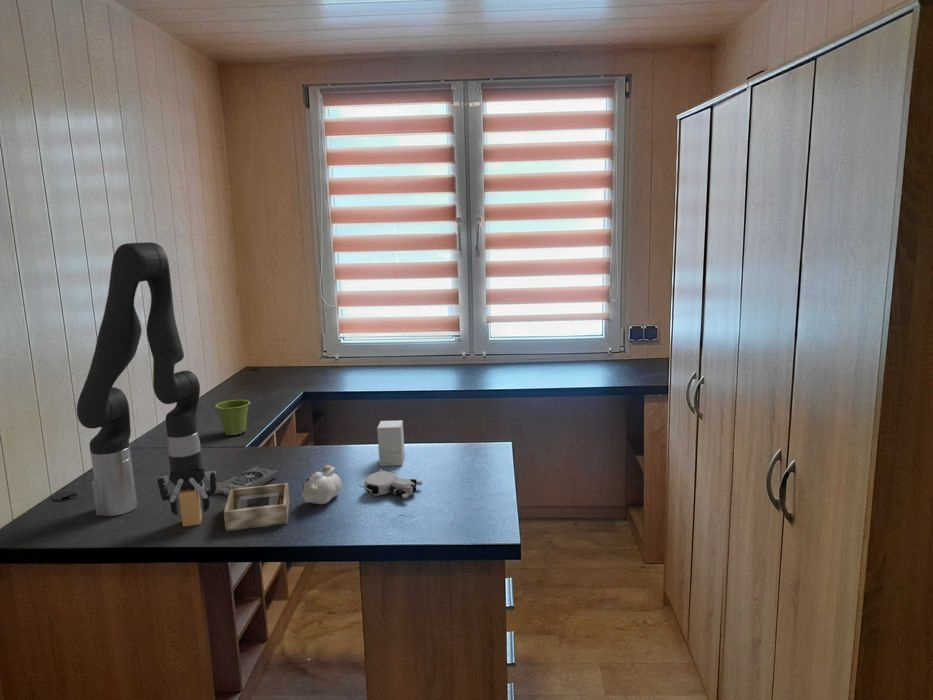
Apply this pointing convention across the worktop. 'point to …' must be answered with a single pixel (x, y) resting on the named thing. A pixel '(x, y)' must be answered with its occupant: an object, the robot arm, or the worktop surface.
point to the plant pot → (233, 415)
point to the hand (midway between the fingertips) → (191, 512)
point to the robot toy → (389, 484)
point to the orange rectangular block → (190, 507)
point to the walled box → (257, 507)
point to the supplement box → (391, 443)
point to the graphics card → (246, 480)
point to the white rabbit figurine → (322, 486)
